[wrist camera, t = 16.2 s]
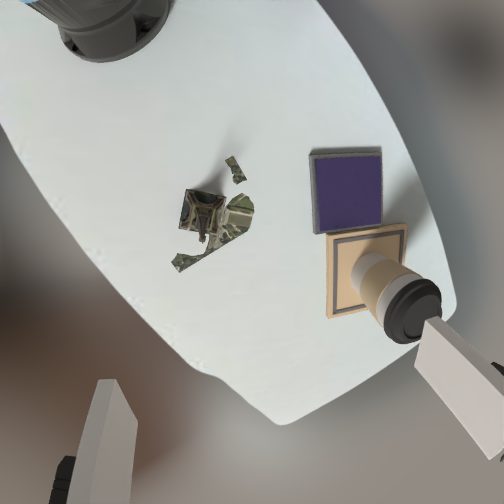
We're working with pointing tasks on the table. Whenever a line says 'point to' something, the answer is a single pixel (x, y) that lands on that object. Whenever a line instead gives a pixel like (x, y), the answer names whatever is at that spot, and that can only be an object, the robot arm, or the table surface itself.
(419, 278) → the coffee cup
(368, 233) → the square wooden board
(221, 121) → the table surface
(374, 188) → the ink pad
